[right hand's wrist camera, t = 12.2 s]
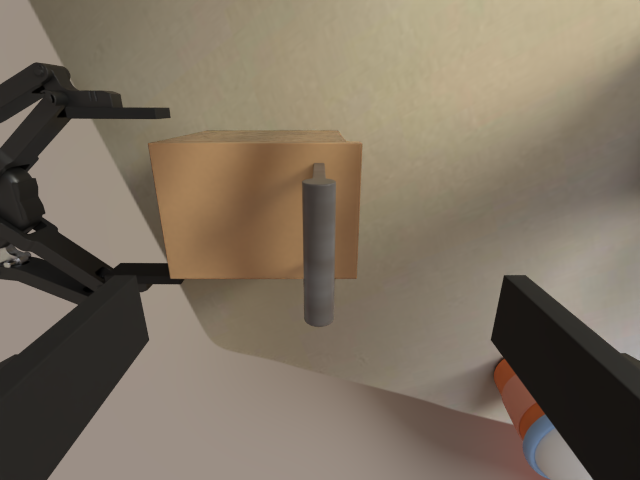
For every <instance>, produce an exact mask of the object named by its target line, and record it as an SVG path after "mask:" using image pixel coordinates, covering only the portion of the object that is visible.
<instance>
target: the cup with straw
mask: <svg viewBox="0 0 640 480" xmlns="http://www.w3.org/2000/svg"><path fill="white" fill-rule="evenodd" d="M494 381H495V383H496V386H497V388H498V390H499V392H500V394H501V396H502V401H503V403H504V406H505V408H506V410H507V412H508V414H509V416H510V418H511V420H512V422H513V424H514V426H515V428H516V430H517V432H518V434H519V436H520V438H521V439H522V441H523V452H524V456H525V458H526V460H527V462H528V463H529V465H530V466H531V467H532V468H533V469H534V470H535V471H536V472H537V473H538V474H540V475H541V476H543V477H545V478H547V479H551V480H593V479H592V478H591V476H590V475H589V473H588V472H587V471H586V469H585V468H584V467H583V465H582V464H581V463H580V461H579V460H578V458H577V457H576V456H575V454H574V453H573V452H572V450H571V449H570V448H569V446H568V445H567V443H566V442H565V441H564V439H563V438H562V437H561V435H560V434H559V432H558V431H557V430H556V428H555V427H554V426H553V424H552V423H551V422H550V420H549V419H548V417H547V416H546V415H545V413H544V412H543V411H542V409H541V408H540V406H539V405H538V404H537V402H536V401H535V400H534V398H533V397H532V396H531V394H530V393H529V391H528V390H527V389H526V387H525V386H524V385H523V383H522V382H521V381H520V379H519V378H518V376H517V375H516V374H515V372H514V371H513V370H512V368H511V367H510V365H509V364H508V363H507V361H506V360H505V359H503V360H502V361H501V362H500V363H499V364H498V365H497V367H496V369H495V372H494Z"/></svg>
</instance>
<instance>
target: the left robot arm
mask: <svg viewBox="0 0 640 480" xmlns="http://www.w3.org/2000/svg"><path fill="white" fill-rule="evenodd" d="M41 98H43V99H42V100H41V101H40V102H39V103H38V105H37V106H36V107H35V108H34V109H33V110H32V112H31V113H30V114H29V115H28V116H27V117H26V119H25V120H24V121H23V122H22V123H21V124H20V126H19V127H18V128H17V129H16V130H15V132H14V133H13V134H12V135H11V136H10V137H9V139H8V140H7V141H6V142H5V143H4V144H3V146H2V147H1V148H0V279H5V280H15V281H19V282H22V283H24V284H27V285H29V286H32V287H35V288H37V289H40V290H42V291H45V292H47V293H50V294H52V295H55V296H57V297H60V298H62V299H65V300H68V301H70V302H73V303H75V304H78V305H79V304H80V303H81V302H83V301H84V300H85V299H86V298H88V297H89V296H90V295H91V294H92V293H94V292H95V291H96V290H97V289H98V288H100V287H101V286H102V285H103V284H105V283H106V282H107V281H108V280H109V279H111V278H112V277H113V276H114V275H136V278H137V283H138V288H139V292H144V291H146V290H148V289H149V288H150V287H151V286H152V284H181V283H182V282H183V281H184V279H171V278H170V273H169V267H168V263H120V264H119V265H118V266H116V267H115V268H114V269H113V268H112V267H110V266H109V265H107V264H106V263H104V262H103V261H101V260H100V259H98V258H97V257H95V256H94V255H92V254H90V253H89V252H87V251H86V250H84V249H83V248H81V247H80V246H78V245H77V244H75V243H74V242H72V241H71V240H69V239H68V238H66V237H65V236H63V235H62V234H60V233H59V232H58V228H57V227H56V226H55V225H53V224H52V223H50V222H49V221H47V220H46V219H44V218H43V217H42V215H43V214H45V210H44V207H43V204H42V202H41V200H40V199H39V197H38V185H37V182H36V178H32V177H31V176H30V175H29V173H28V171H29V169H30V168H31V167H32V166H33V165H34V164H35V163H36V162H37V161H38V159H39V158H38V155H39V154H40V153H41V152H42V151H43V150H44V149H45V147H46V146H47V145H48V144H49V143H50V142H51V141H52V140H53V138H54V137H55V136H56V135H57V134H58V133H59V132H60V131H61V130H62V128H63V127H64V126H65V125H66V124H67V123H68V122H69V121H70V119H71V118H79V119H82V118H83V119H162V118H170V110H169V108H123V107H122V101H121V95H120V94H118V93H116V92H113V91H79V90H77V89H76V88H75V87H74V86H73V85H72V84H71V82H70V73H69V71H68V70H67V69H66V68H65V67H63V66H57V65H50V64H44V63H33V64H32V65H30V66H28V67H27V68H25V69H24V70H22V71H21V72H19V73H17V74H16V75H14V76H13V77H11V78H10V79H8V80H7V81H5V82H3V83H2V84H0V123H2V122H3V121H6V120H7V119H9V118H10V117H12V116H14V115H15V114H17V113H19V112H20V111H22V110H23V109H25V108H27V107H28V106H30V105H32V104H33V103H35V102H36V101H38V100H40V99H41ZM32 229H34V230H35V231H36V232H34V233H31V234H27V233H28V232H29V231H31V230H32ZM15 247H17V248H19V249H20V250H22V251H30V252H33V253H35V254H36V255H38V256H40V257H41V258H43V259H44V260H43V259H40V258H36V257H31V254H30V253H29V252H25V253H24V252H21V251H18V250H17V249H16V248H15Z"/></svg>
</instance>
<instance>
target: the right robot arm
mask: <svg viewBox="0 0 640 480" xmlns="http://www.w3.org/2000/svg"><path fill="white" fill-rule="evenodd" d="M148 341H149V337H148V332H147V327H146V322H145V317H144V312H143V307H142V303H141V298H140V293H139V288H138V283H137V278H136V275H114V276H113V277H112V278H111V279H109V280H108V281H107V282H106V283H105V284H103V285H102V286H101V287H100V288H98V289H97V290H96V291H95V292H94V293H92V294H91V295H90V296H89V297H88V298H86V299H85V300H84V301H83V302H81V303H80V304H79V305H78V306H77V307H75V308H74V309H73V310H72V311H71V312H69V313H68V314H67V315H66V316H64V317H63V318H62V319H61V320H60V321H58V322H57V323H56V324H55V325H53V326H52V327H51V328H50V329H49V330H47V331H46V332H45V333H44V334H43V335H41V336H40V337H39V338H38V339H36V340H35V341H34V342H33V343H32V344H30V345H29V346H28V347H27V348H26V349H24V350H23V351H22V352H21V353H19V354H18V355H13V356H11V357H9V358H8V359H6V360H4V361H2V362H0V480H47V479H48V477H49V476H50V475H51V473H52V472H53V471H54V469H55V468H56V467H57V465H58V464H59V462H60V461H61V460H62V458H63V457H64V456H65V454H66V453H67V451H68V450H69V449H70V448H71V446H72V445H73V443H74V442H75V441H76V439H77V438H78V437H79V435H80V434H81V432H82V431H83V430H84V428H85V427H86V426H87V424H88V423H89V422H90V420H91V419H92V417H93V416H94V415H95V413H96V412H97V411H98V409H99V408H100V406H101V405H102V404H103V402H104V401H105V400H106V398H107V397H108V396H109V394H110V393H111V391H112V390H113V389H114V387H115V386H116V385H117V383H118V382H119V381H120V379H121V378H122V376H123V375H124V374H125V372H126V371H127V370H128V368H129V367H130V365H131V364H132V363H133V361H134V360H135V359H136V357H137V356H138V355H139V353H140V352H141V350H142V349H143V348H144V346H145V345H146V344H147V342H148ZM491 341H492V342H493V344H494V345H495V346H496V348H497V349H498V350H499V352H500V353H501V355H502V356H503V357H504V359H505V360H506V361H507V363H508V364H509V365H510V367H511V368H512V370H513V371H514V372H515V374H516V375H517V376H518V378H519V379H520V381H521V382H522V383H523V385H524V386H525V387H526V389H527V390H528V391H529V393H530V394H531V396H532V397H533V398H534V400H535V401H536V402H537V404H538V405H539V406H540V408H541V409H542V411H543V412H544V413H545V415H546V416H547V417H548V419H549V420H550V422H551V423H552V424H553V426H554V427H555V428H556V430H557V431H558V432H559V434H560V435H561V437H562V438H563V439H564V441H565V442H566V443H567V445H568V446H569V448H570V449H571V450H572V452H573V453H574V454H575V456H576V457H577V458H578V460H579V461H580V463H581V464H582V465H583V467H584V468H585V469H586V471H587V472H588V473H589V475H590V476H591V478H592V479H593V480H640V361H639V360H637V359H635V358H633V357H631V356H630V355H628V354H626V353H619V352H618V351H617V350H616V349H614V348H613V347H612V346H611V345H610V344H608V343H607V342H606V341H605V340H604V339H602V338H601V337H600V336H599V335H597V334H596V333H595V332H594V331H593V330H591V329H590V328H589V327H588V326H587V325H585V324H584V323H583V322H582V321H580V320H579V319H578V318H577V317H576V316H574V315H573V314H572V313H571V312H569V311H568V310H567V309H566V308H565V307H563V306H562V305H561V304H560V303H559V302H557V301H556V300H555V299H554V298H552V297H551V296H550V295H549V294H548V293H546V292H545V291H544V290H543V289H542V288H540V287H539V286H538V285H537V284H535V283H534V282H533V281H532V280H531V279H529V278H528V277H527V276H526V275H504V278H503V283H502V288H501V293H500V298H499V302H498V307H497V312H496V317H495V322H494V327H493V332H492V337H491Z"/></svg>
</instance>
